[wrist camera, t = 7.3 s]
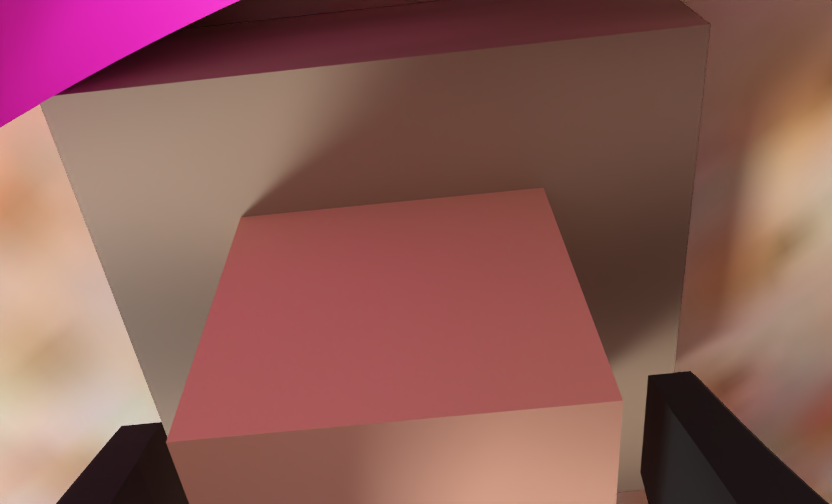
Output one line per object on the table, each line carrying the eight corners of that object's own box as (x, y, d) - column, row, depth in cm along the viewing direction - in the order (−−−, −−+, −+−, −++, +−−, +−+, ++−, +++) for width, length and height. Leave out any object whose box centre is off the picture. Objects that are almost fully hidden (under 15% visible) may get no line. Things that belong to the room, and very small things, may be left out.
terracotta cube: (544, 410, 15) (605, 658, 11) (294, 434, 15) (258, 687, 11) (543, 187, 12) (623, 400, 8) (240, 217, 13) (165, 441, 8)
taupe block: (625, 392, 19) (662, 488, 16) (227, 430, 19) (203, 530, 17) (650, -23, 14) (710, 24, 11) (101, 38, 14) (37, 97, 11)
